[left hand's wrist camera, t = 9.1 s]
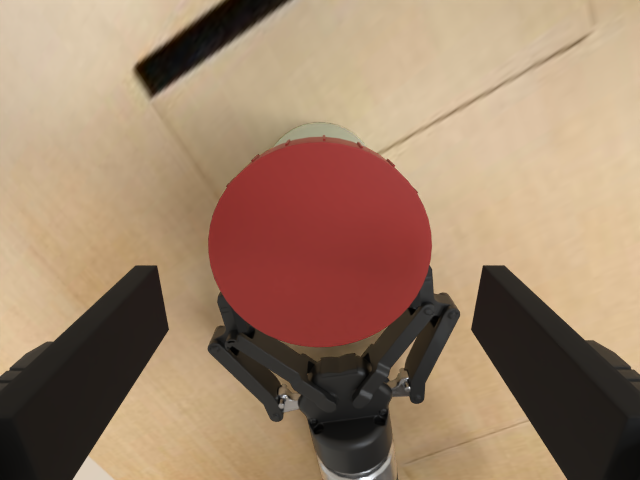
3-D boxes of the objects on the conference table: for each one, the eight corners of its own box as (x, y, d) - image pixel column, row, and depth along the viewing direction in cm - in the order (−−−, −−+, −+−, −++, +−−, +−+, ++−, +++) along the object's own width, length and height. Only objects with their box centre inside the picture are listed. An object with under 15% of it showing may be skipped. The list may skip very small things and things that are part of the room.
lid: (461, 244, 19) (477, 261, 17) (315, 354, 21) (315, 380, 19) (325, 85, 16) (326, 84, 14) (177, 235, 19) (161, 251, 17)
